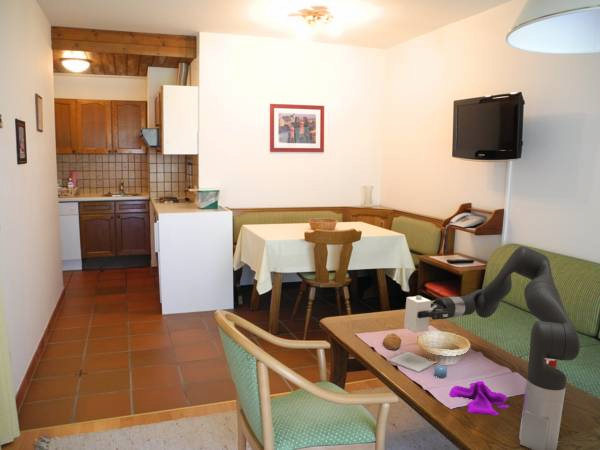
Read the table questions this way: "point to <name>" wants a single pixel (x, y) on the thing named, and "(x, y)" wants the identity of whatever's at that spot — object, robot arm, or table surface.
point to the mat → (411, 361)
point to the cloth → (480, 398)
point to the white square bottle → (411, 312)
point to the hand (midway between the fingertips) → (412, 312)
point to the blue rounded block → (440, 371)
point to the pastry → (392, 341)
